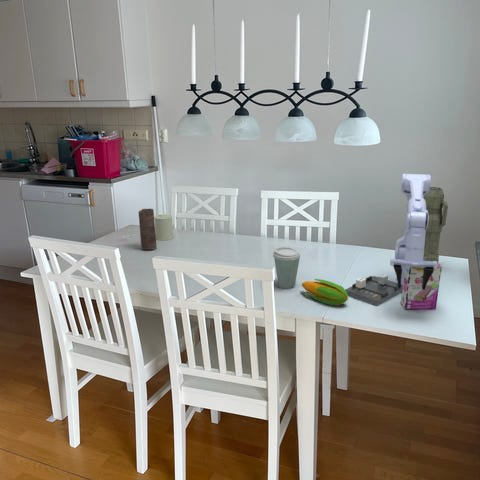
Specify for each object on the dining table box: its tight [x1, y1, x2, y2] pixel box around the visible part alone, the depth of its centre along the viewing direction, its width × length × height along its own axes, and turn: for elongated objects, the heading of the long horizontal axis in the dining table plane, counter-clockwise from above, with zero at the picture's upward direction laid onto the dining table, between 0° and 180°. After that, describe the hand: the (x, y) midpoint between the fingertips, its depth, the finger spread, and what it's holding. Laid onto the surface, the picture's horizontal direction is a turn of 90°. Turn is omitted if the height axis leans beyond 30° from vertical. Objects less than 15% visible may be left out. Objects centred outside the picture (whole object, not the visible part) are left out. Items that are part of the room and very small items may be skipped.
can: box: [154, 213, 174, 241], centre depth 252 cm, size 9×9×12 cm
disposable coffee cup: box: [272, 246, 301, 290], centre depth 188 cm, size 11×11×15 cm
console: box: [344, 275, 403, 307], centre depth 183 cm, size 20×14×3 cm
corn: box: [301, 278, 349, 306], centre depth 177 cm, size 7×8×20 cm
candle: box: [138, 208, 157, 250], centre depth 234 cm, size 8×7×20 cm
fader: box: [378, 273, 389, 285], centre depth 185 cm, size 3×2×3 cm
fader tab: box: [355, 277, 366, 288], centre depth 182 cm, size 3×2×3 cm
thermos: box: [422, 186, 449, 263], centre depth 200 cm, size 9×12×35 cm
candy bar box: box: [400, 261, 443, 311], centre depth 168 cm, size 11×5×16 cm, turn 92°
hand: (411, 288), depth 161 cm, fingers open, 7 cm apart
